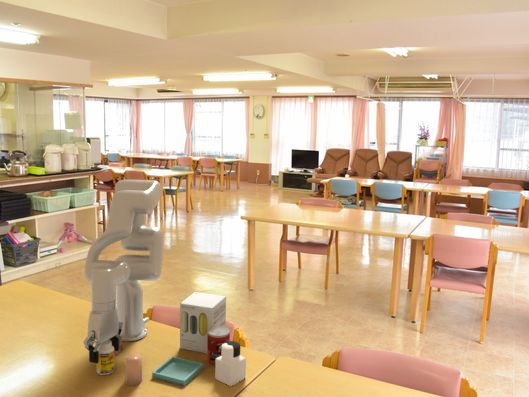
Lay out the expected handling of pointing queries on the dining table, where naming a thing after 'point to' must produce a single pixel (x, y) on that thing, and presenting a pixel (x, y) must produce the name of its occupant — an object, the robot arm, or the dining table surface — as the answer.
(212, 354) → the canned food
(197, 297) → the supplement box
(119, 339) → the walnut block
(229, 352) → the medicine bottle
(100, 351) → the supplement bottle
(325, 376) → the dining table surface
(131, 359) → the peach rounded capsule
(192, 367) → the tray
